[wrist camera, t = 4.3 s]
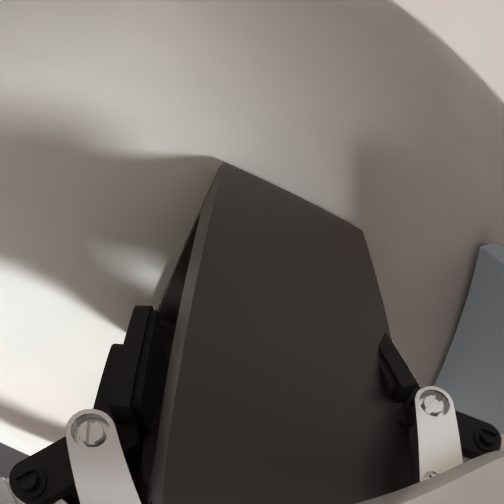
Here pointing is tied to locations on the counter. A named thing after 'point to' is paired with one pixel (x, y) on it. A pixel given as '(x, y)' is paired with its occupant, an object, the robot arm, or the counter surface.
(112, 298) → the counter surface
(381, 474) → the phone stand
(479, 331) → the blue rectangular panel
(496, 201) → the counter surface
